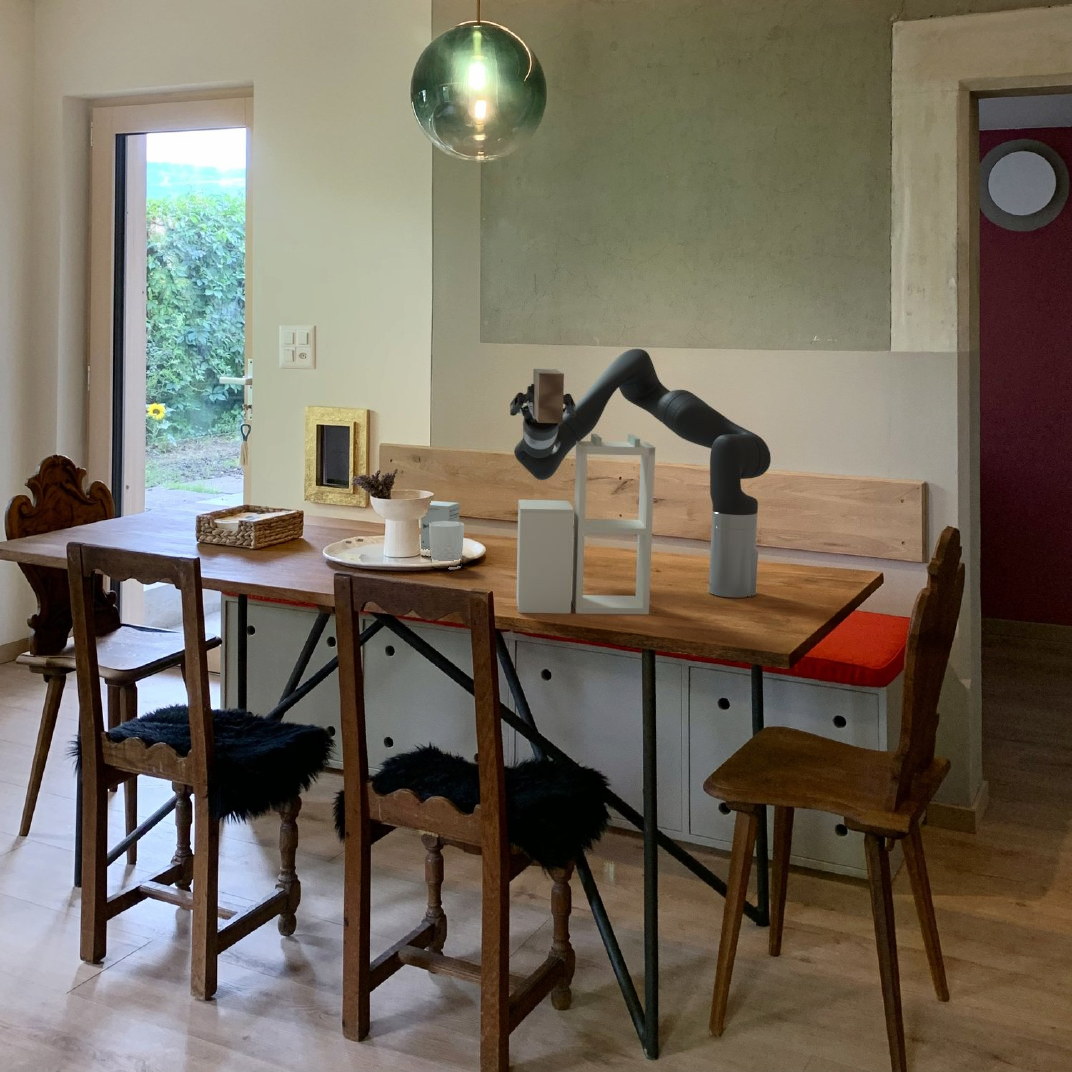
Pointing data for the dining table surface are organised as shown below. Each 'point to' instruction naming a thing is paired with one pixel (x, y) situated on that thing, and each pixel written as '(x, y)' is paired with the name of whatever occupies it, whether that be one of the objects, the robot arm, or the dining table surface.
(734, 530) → the robot arm
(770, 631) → the dining table surface
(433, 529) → the pale blue cup
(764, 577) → the dining table surface
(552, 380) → the walnut block
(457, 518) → the supplement box
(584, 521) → the step shelf
